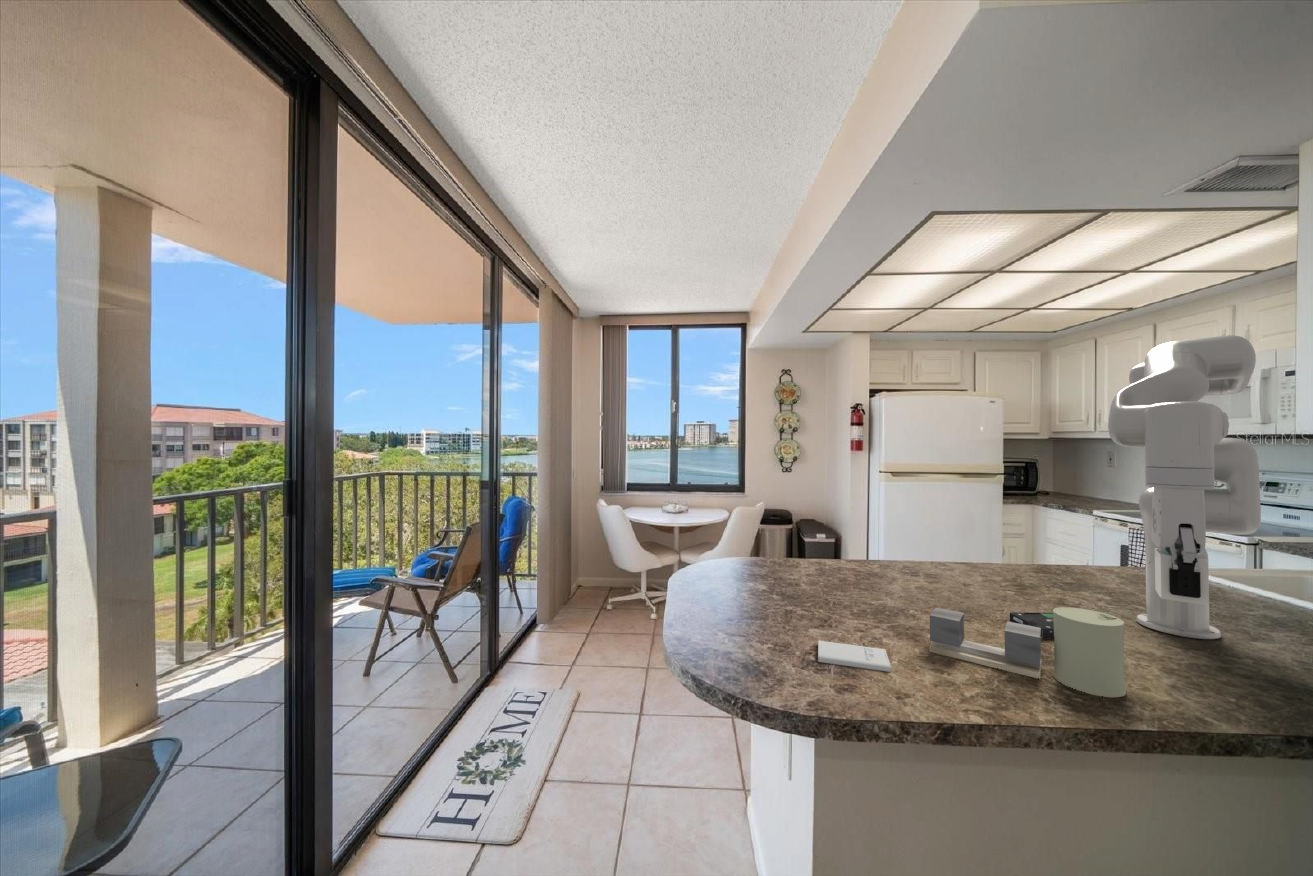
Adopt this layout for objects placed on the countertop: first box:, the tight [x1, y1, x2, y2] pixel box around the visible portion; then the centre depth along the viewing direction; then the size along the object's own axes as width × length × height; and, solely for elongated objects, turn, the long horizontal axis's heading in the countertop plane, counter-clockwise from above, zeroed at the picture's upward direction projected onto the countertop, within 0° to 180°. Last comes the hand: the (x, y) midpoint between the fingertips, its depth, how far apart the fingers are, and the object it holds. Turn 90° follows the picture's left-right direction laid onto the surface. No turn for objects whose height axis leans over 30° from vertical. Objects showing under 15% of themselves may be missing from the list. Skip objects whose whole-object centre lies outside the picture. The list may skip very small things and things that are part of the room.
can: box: [1052, 606, 1127, 698], centre depth 81 cm, size 9×9×12 cm
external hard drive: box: [817, 640, 892, 673], centre depth 91 cm, size 2×8×12 cm
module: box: [1155, 548, 1210, 606], centre depth 76 cm, size 6×5×7 cm
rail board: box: [929, 607, 1042, 680], centre depth 91 cm, size 7×17×7 cm, turn 50°
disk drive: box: [1009, 611, 1054, 640], centre depth 105 cm, size 10×3×15 cm
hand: (1180, 589), depth 76 cm, fingers closed on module, 6 cm apart
